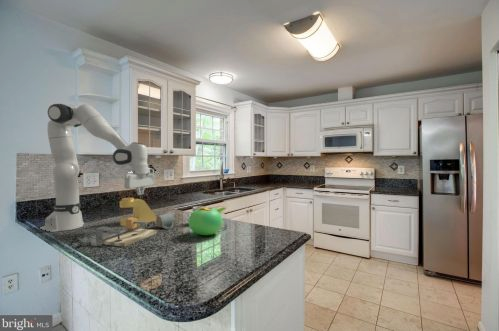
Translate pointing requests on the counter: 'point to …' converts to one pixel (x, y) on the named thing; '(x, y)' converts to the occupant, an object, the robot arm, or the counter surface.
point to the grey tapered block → (107, 235)
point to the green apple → (206, 220)
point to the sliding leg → (134, 223)
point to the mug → (197, 208)
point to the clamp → (137, 210)
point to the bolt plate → (130, 237)
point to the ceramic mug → (165, 221)
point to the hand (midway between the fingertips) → (140, 194)
